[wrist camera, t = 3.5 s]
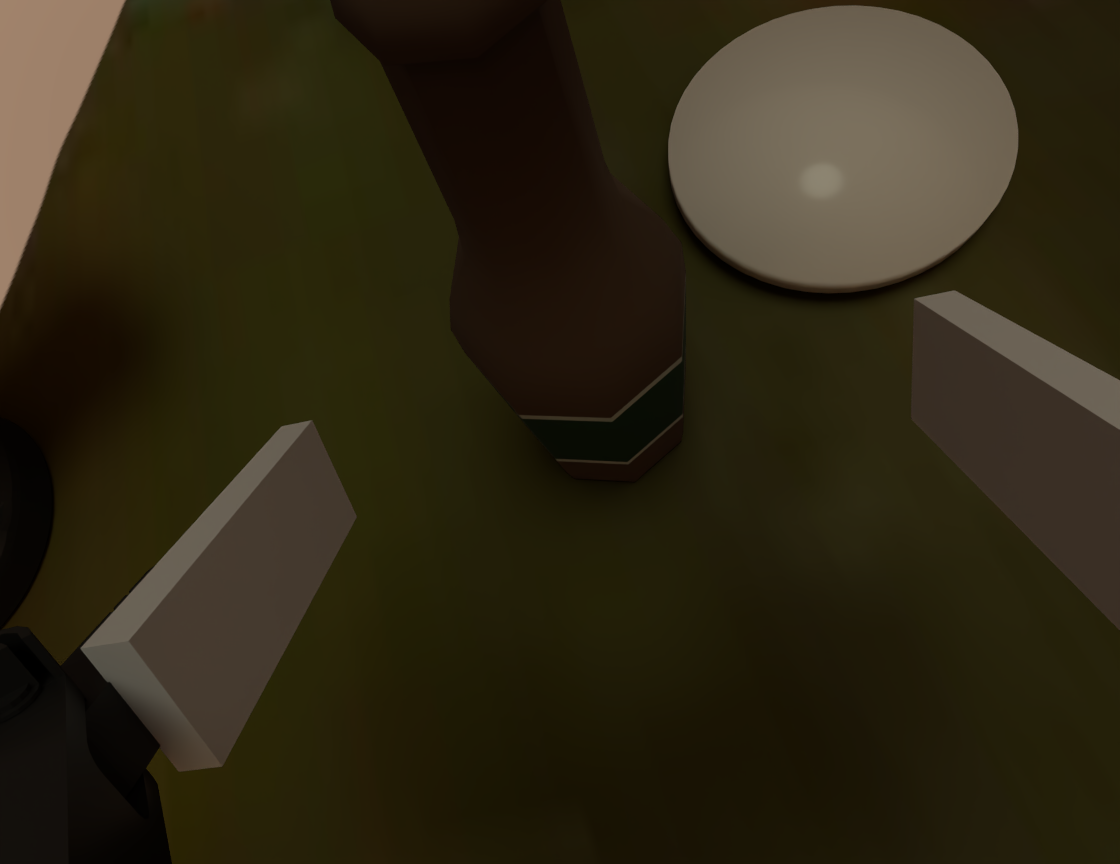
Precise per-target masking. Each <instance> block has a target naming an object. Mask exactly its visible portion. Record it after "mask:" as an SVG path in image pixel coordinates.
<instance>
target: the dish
mask: <svg viewBox="0 0 1120 864" xmlns="http://www.w3.org/2000/svg"><path fill="white" fill-rule="evenodd" d="M1017 151H1018V126H1017V120H1016V114H1015V109H1014V107H1013V104H1012V101H1011V98H1010V95H1009V92H1008V91H1007V89H1006V87H1005V85H1004V83H1003V82H1002V80H1001V78H1000V76H999V75H998V73H997V72H996V71H995V70H994V68H993V67H992V66H991V64H990V63H989V62H988V61H987V60H986V59H985V58H984V57H983V56H982V55H981V54H980V53H979V52H978V51H977V50H976V49H975V48H974V47H973V46H972V45H970V44H969V43H967V42H966V41H965V40H963V39H962V38H961V37H959V36H958V35H956V34H955V33H953V32H951V31H949V30H947V29H946V28H944V27H942V26H940V25H938V24H936V23H933V22H931V21H928V20H926V19H924V18H921V17H919V16H915V15H912V14H908V13H905V12H901V11H897V10H891V9H885V8H880V7H869V6H832V7H824V8H816V9H810V10H806V11H801V12H797V13H792V14H789V15H786V16H783V17H780V18H777V19H774V20H771V21H769V22H767V23H765V24H762V25H760V26H758V27H756V28H753V29H752V30H750V31H748V32H746V33H745V34H743V35H741V36H739V37H738V38H736V39H735V40H733V41H732V42H731V43H729V44H728V45H726V46H725V47H724V48H722V49H721V50H720V51H719V52H717V53H716V54H715V55H714V56H713V57H712V58H711V59H710V60H709V61H708V62H707V63H706V64H705V65H704V66H703V67H702V68H701V69H700V71H699V72H698V73H697V74H696V75H695V76H694V78H693V79H692V81H691V82H690V84H689V85H688V87H687V88H686V90H685V91H684V93H683V95H682V97H681V99H680V102H679V104H678V106H677V108H676V111H675V114H674V117H673V120H672V123H671V129H670V135H669V141H668V162H669V175H670V182H671V188H672V191H673V195H674V198H675V201H676V204H677V206H678V208H679V210H680V212H681V214H682V216H683V218H684V220H685V222H686V223H687V224H688V226H689V227H690V229H691V230H692V232H693V233H694V234H695V236H696V237H697V238H698V239H699V240H700V241H701V242H702V243H703V244H704V245H705V246H706V247H707V248H708V249H709V250H710V251H711V252H712V253H714V254H715V255H716V256H717V257H719V258H720V259H721V260H722V261H724V262H725V263H727V264H729V265H730V266H732V267H734V268H735V269H737V270H739V271H740V272H742V273H744V274H746V275H749V276H751V277H753V278H755V279H758V280H760V281H763V282H766V283H769V284H772V285H776V286H779V287H782V288H787V289H793V290H798V291H804V292H816V293H850V292H858V291H864V290H871V289H877V288H880V287H884V286H888V285H891V284H895V283H899V282H901V281H904V280H906V279H909V278H911V277H914V276H916V275H919V274H921V273H923V272H924V271H926V270H928V269H930V268H932V267H934V266H935V265H937V264H939V263H941V262H942V261H944V260H945V259H946V258H948V257H949V256H950V255H952V254H953V253H955V252H956V251H957V250H959V249H960V248H961V247H962V246H963V245H964V244H965V243H966V242H967V241H968V240H969V239H970V238H971V237H972V236H973V235H974V234H975V233H976V232H977V230H978V229H979V228H980V227H981V225H982V224H983V223H984V222H985V220H986V219H987V218H988V216H989V215H990V214H991V212H992V211H993V210H994V208H995V207H996V206H997V204H998V203H999V201H1000V199H1001V197H1002V196H1003V194H1004V192H1005V190H1006V188H1007V187H1008V184H1009V181H1010V178H1011V176H1012V173H1013V170H1014V167H1015V162H1016V156H1017Z"/></svg>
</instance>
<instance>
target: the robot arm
mask: <svg viewBox="0 0 1120 864" xmlns="http://www.w3.org/2000/svg"><path fill="white" fill-rule="evenodd" d="M911 419H912V420H913V421H914V422H915V423H916V424H917V425H918V426H919V427H920V428H921V429H922V430H923V431H924V432H925V433H926V434H927V435H928V436H929V437H930V438H931V439H932V440H933V441H934V442H935V443H936V444H937V445H938V446H939V447H940V448H941V450H942V451H943V452H944V453H945V454H946V455H947V456H948V457H949V458H950V459H951V460H952V461H953V462H954V463H955V464H956V465H957V466H958V467H959V468H960V469H961V470H962V471H963V472H964V473H965V474H966V475H967V476H968V477H969V478H970V479H971V480H972V481H973V482H974V483H975V484H976V485H977V486H978V487H979V488H980V489H981V490H982V491H983V492H984V493H985V494H986V495H987V496H988V497H989V498H990V499H991V500H992V501H993V502H994V503H995V504H996V505H997V506H998V507H999V508H1000V509H1001V510H1002V511H1003V512H1004V513H1005V514H1006V515H1007V516H1008V517H1009V518H1010V519H1011V521H1012V522H1013V523H1014V524H1015V525H1016V526H1017V527H1018V528H1019V529H1020V530H1021V531H1022V532H1023V533H1024V534H1025V535H1026V536H1027V537H1028V538H1029V539H1030V540H1031V541H1032V542H1033V543H1034V544H1035V545H1036V546H1037V547H1038V548H1039V549H1040V550H1041V551H1042V552H1043V553H1044V554H1045V555H1046V556H1047V557H1048V558H1049V559H1050V560H1051V561H1052V562H1053V563H1054V564H1055V565H1056V566H1057V567H1058V568H1059V569H1060V570H1061V571H1062V572H1063V573H1064V574H1065V575H1066V576H1067V577H1068V578H1069V579H1070V580H1071V581H1072V582H1073V583H1074V584H1075V585H1076V586H1077V587H1078V588H1079V589H1080V591H1081V592H1082V593H1083V594H1084V595H1085V596H1086V597H1087V598H1088V599H1089V600H1090V601H1091V602H1092V603H1093V604H1094V605H1095V606H1096V607H1097V608H1098V609H1099V610H1100V611H1101V612H1102V613H1103V614H1104V615H1105V616H1106V617H1107V618H1108V619H1109V620H1110V621H1111V622H1112V623H1113V624H1114V625H1115V626H1116V627H1117V628H1118V629H1119V630H1120V380H1118V379H1116V378H1114V377H1112V376H1110V375H1109V374H1107V373H1105V372H1103V371H1101V370H1099V369H1098V368H1096V367H1094V366H1092V365H1090V364H1088V363H1087V362H1085V361H1083V360H1081V359H1079V358H1077V357H1076V356H1074V355H1072V354H1070V353H1068V352H1066V351H1065V350H1063V349H1061V348H1059V347H1057V346H1055V345H1054V344H1052V343H1050V342H1048V341H1046V340H1044V339H1043V338H1041V337H1039V336H1037V335H1035V334H1033V333H1032V332H1030V331H1028V330H1026V329H1024V328H1022V327H1021V326H1019V325H1017V324H1015V323H1013V322H1011V321H1010V320H1008V319H1006V318H1004V317H1002V316H1000V315H999V314H997V313H995V312H993V311H991V310H989V309H988V308H986V307H984V306H982V305H980V304H978V303H977V302H975V301H973V300H971V299H969V298H968V297H966V296H964V295H962V294H960V293H958V292H957V291H950V292H945V293H940V294H935V295H930V296H925V297H920V298H915V299H914V324H913V363H912V402H911ZM51 510H52V494H51V484H50V478H49V473H48V470H47V466H46V463H45V461H44V458H43V456H42V454H41V452H40V450H39V448H38V447H37V445H36V444H35V442H34V441H33V440H32V438H31V437H30V436H29V435H28V434H27V433H26V432H25V431H24V430H23V429H21V428H20V427H19V426H17V425H16V424H14V423H12V422H10V421H8V420H6V419H3V418H1V417H0V627H1V626H2V625H3V623H4V622H5V621H6V620H7V619H8V617H9V616H10V615H11V613H12V612H13V611H14V609H15V608H16V607H17V605H18V604H19V602H20V601H21V599H22V597H23V596H24V594H25V592H26V591H27V589H28V587H29V585H30V583H31V581H32V579H33V577H34V575H35V573H36V571H37V568H38V566H39V563H40V561H41V558H42V555H43V552H44V549H45V545H46V541H47V538H48V533H49V528H50V521H51ZM356 517H357V516H356V514H355V512H354V510H353V508H352V506H351V503H350V501H349V499H348V497H347V495H346V493H345V490H344V488H343V486H342V484H341V482H340V480H339V477H338V475H337V473H336V471H335V469H334V467H333V465H332V462H331V460H330V458H329V456H328V454H327V452H326V449H325V447H324V445H323V443H322V441H321V439H320V436H319V434H318V432H317V430H316V428H315V426H314V424H313V421H312V420H311V421H306V422H301V423H296V424H291V425H286V426H282V427H281V428H280V429H279V430H278V431H277V432H276V433H275V434H274V435H273V436H272V438H271V439H270V440H269V441H268V442H267V443H266V444H265V445H264V446H263V447H262V449H261V450H260V451H259V452H258V453H257V454H256V455H255V456H254V457H253V458H252V460H251V461H250V462H249V463H248V464H247V465H246V466H245V467H244V468H243V470H242V471H241V472H240V473H239V474H238V475H237V476H236V477H235V478H234V479H233V481H232V482H231V483H230V484H229V485H228V486H227V487H226V488H225V489H224V490H223V492H222V493H221V494H220V495H219V496H218V497H217V498H216V499H215V500H214V501H213V503H212V504H211V505H210V506H209V507H208V508H207V509H206V510H205V511H204V513H203V514H202V515H201V516H200V517H199V518H198V519H197V520H196V521H195V522H194V524H193V525H192V526H191V527H190V528H189V529H188V530H187V531H186V532H185V533H184V535H183V536H182V537H181V538H180V539H179V540H178V541H177V542H176V543H175V544H174V546H173V547H172V548H171V549H170V550H169V551H168V552H167V553H166V554H165V556H164V557H163V558H162V559H161V560H160V561H159V562H158V563H157V564H156V565H155V566H154V567H152V568H151V569H150V570H148V571H147V572H146V573H145V574H144V576H143V577H142V578H141V579H140V580H139V581H138V582H137V583H136V584H135V585H134V586H133V588H132V589H131V590H130V591H129V595H125V596H124V597H123V599H122V600H121V601H120V602H119V603H118V604H117V605H116V606H115V607H114V612H110V613H109V614H108V615H107V616H106V617H105V618H104V619H103V620H102V622H101V623H100V624H99V625H98V626H97V627H96V628H95V629H94V630H93V631H92V632H91V634H90V635H89V636H88V637H87V638H86V639H85V640H84V641H83V642H82V643H81V645H80V646H79V647H78V648H77V649H76V650H75V651H74V652H73V653H72V654H71V655H70V657H69V658H68V659H67V660H66V661H65V662H64V663H63V664H62V665H61V666H60V665H59V664H58V663H57V662H56V660H55V659H54V658H53V657H52V656H51V654H50V653H49V652H48V651H47V650H46V648H45V647H44V646H43V645H42V644H41V643H40V641H39V640H38V639H37V638H36V637H35V635H34V634H33V633H32V632H31V631H30V629H29V628H28V627H19V626H16V627H12V628H8V629H4V630H0V864H172V862H171V856H170V851H169V845H168V839H167V834H166V828H165V823H164V817H163V812H162V806H161V801H160V795H159V790H158V784H157V783H156V781H155V779H154V778H153V776H152V775H151V774H150V773H149V772H148V770H147V769H146V767H147V766H148V764H149V762H150V761H151V759H152V758H153V756H154V755H155V753H156V752H157V750H158V749H159V747H160V749H161V750H162V751H163V752H164V754H165V755H166V756H167V757H168V759H169V760H170V761H171V762H172V764H173V765H174V766H175V767H176V769H177V770H178V771H179V772H180V771H188V770H196V769H204V768H213V767H221V766H223V764H224V762H225V760H226V759H227V757H228V755H229V753H230V751H231V749H232V747H233V746H234V744H235V742H236V740H237V738H238V736H239V734H240V733H241V731H242V729H243V727H244V725H245V723H246V721H247V720H248V718H249V716H250V714H251V712H252V710H253V708H254V707H255V705H256V703H257V701H258V699H259V697H260V695H261V694H262V692H263V690H264V688H265V686H266V684H267V682H268V681H269V679H270V677H271V675H272V673H273V671H274V669H275V668H276V666H277V664H278V662H279V660H280V658H281V657H282V655H283V653H284V651H285V649H286V647H287V645H288V644H289V642H290V640H291V638H292V636H293V634H294V632H295V631H296V629H297V627H298V625H299V623H300V621H301V619H302V618H303V616H304V614H305V612H306V610H307V608H308V606H309V605H310V603H311V601H312V599H313V597H314V595H315V593H316V592H317V590H318V588H319V586H320V584H321V582H322V580H323V579H324V577H325V575H326V573H327V571H328V569H329V567H330V566H331V564H332V562H333V560H334V558H335V556H336V554H337V553H338V551H339V549H340V547H341V545H342V543H343V541H344V540H345V538H346V536H347V534H348V532H349V530H350V528H351V527H352V525H353V523H354V521H355V519H356Z"/></svg>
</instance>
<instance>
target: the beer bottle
mask: <svg viewBox="0 0 1120 864" xmlns="http://www.w3.org/2000/svg"><path fill="white" fill-rule="evenodd" d="M330 1H331V4H332V8H333V12H334V16H335V18H336V19H337V20H338V21H339V22H340V23H341V24H342V25H343V26H344V27H345V28H346V29H347V30H348V31H349V32H351V33H352V34H353V35H354V36H355V37H356V38H357V39H358V40H359V41H360V42H361V43H362V44H363V45H364V46H365V47H366V48H367V49H368V50H369V51H370V52H371V53H372V54H373V55H374V56H375V57H376V58H377V59H379V60H380V62H381V64H382V67H383V69H384V71H385V73H386V75H387V77H388V79H389V81H390V84H391V86H392V88H393V90H394V92H395V94H396V96H397V99H398V101H399V103H400V105H401V107H402V109H403V111H404V113H405V116H406V118H407V120H408V122H409V124H410V126H411V128H412V130H413V133H414V135H415V137H416V139H417V141H418V143H419V145H420V148H421V150H422V152H423V154H424V156H425V158H426V160H427V162H428V165H429V167H430V169H431V171H432V173H433V175H434V177H435V179H436V182H437V184H438V186H439V188H440V190H441V192H442V194H443V197H444V199H445V201H446V203H447V205H448V207H449V209H450V211H451V214H452V216H453V218H454V220H455V224H456V227H457V231H458V235H459V240H458V247H457V254H456V260H455V267H454V274H453V281H452V287H451V294H450V322H451V331H452V332H453V334H454V336H455V337H456V339H457V340H458V342H459V344H460V345H461V347H462V349H463V350H464V352H465V353H466V355H467V356H468V357H469V358H470V359H471V361H472V362H473V363H474V364H475V365H476V367H477V368H478V369H479V370H480V371H481V373H482V374H483V375H484V376H485V377H486V378H487V380H488V381H489V382H490V383H491V384H492V386H493V387H494V388H495V389H496V390H497V392H498V393H499V394H500V395H501V396H502V398H503V399H504V400H505V401H506V402H507V403H508V405H509V406H510V407H511V408H512V409H513V411H514V412H515V413H516V414H517V415H518V417H519V418H520V419H521V420H522V421H523V422H524V424H525V425H526V426H527V427H528V428H529V430H530V431H531V432H532V433H533V434H534V435H535V436H536V438H537V439H538V440H539V441H540V442H541V443H542V444H543V446H544V447H545V448H546V449H547V450H548V451H549V453H550V454H551V455H552V456H553V457H554V458H555V459H556V461H557V462H558V463H559V464H560V465H561V466H562V468H563V469H564V470H565V471H566V472H567V473H568V474H569V475H571V476H572V477H573V478H574V479H593V480H611V481H630V482H635V481H636V480H638V479H639V478H640V477H641V476H642V475H643V474H644V473H646V472H647V471H648V470H649V469H650V468H651V467H652V466H654V465H655V464H656V463H657V462H658V461H659V460H660V459H662V458H663V457H664V456H665V455H666V454H667V453H668V452H670V451H671V450H672V449H673V448H674V447H675V446H676V445H678V444H679V443H680V442H681V439H682V434H683V419H684V395H685V371H686V270H685V264H684V257H683V251H682V244H681V242H680V240H679V239H678V238H677V237H676V235H675V234H674V233H673V232H672V231H671V229H670V228H669V227H668V226H667V224H666V223H665V222H664V221H663V219H662V218H660V217H659V216H658V215H657V214H656V213H655V212H654V211H652V210H651V209H650V208H649V207H648V206H647V205H646V204H645V203H643V202H642V201H641V200H640V199H639V198H638V197H637V196H635V195H634V194H633V193H632V192H631V191H630V190H629V189H627V188H626V187H625V186H624V185H623V184H622V183H621V182H619V181H618V180H617V179H616V178H615V177H614V176H613V175H612V174H610V172H609V170H608V168H607V165H606V163H605V161H604V158H603V154H602V150H601V147H600V143H599V139H598V136H597V132H596V128H595V125H594V121H593V118H592V114H591V110H590V107H589V103H588V99H587V96H586V92H585V88H584V85H583V81H582V77H581V74H580V70H579V66H578V63H577V59H576V55H575V52H574V48H573V45H572V41H571V37H570V34H569V30H568V26H567V23H566V19H565V15H564V12H563V8H562V4H561V1H560V0H330Z"/></svg>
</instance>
